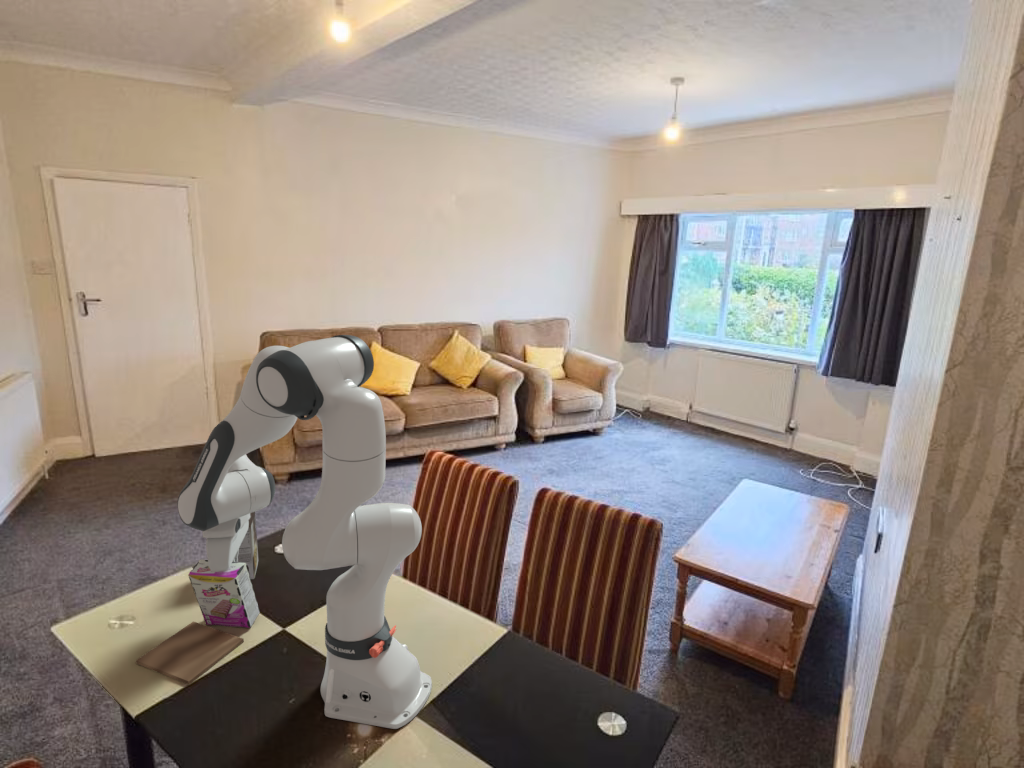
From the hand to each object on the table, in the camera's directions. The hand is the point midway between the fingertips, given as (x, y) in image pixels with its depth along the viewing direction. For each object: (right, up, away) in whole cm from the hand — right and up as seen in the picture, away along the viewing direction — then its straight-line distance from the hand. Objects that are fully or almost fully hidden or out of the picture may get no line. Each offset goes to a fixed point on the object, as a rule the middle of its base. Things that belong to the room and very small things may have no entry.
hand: (232, 567), depth 130 cm
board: (-5, -16, -8) cm, 18 cm away
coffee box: (-8, -9, +23) cm, 26 cm away
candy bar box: (-1, -13, +2) cm, 13 cm away
